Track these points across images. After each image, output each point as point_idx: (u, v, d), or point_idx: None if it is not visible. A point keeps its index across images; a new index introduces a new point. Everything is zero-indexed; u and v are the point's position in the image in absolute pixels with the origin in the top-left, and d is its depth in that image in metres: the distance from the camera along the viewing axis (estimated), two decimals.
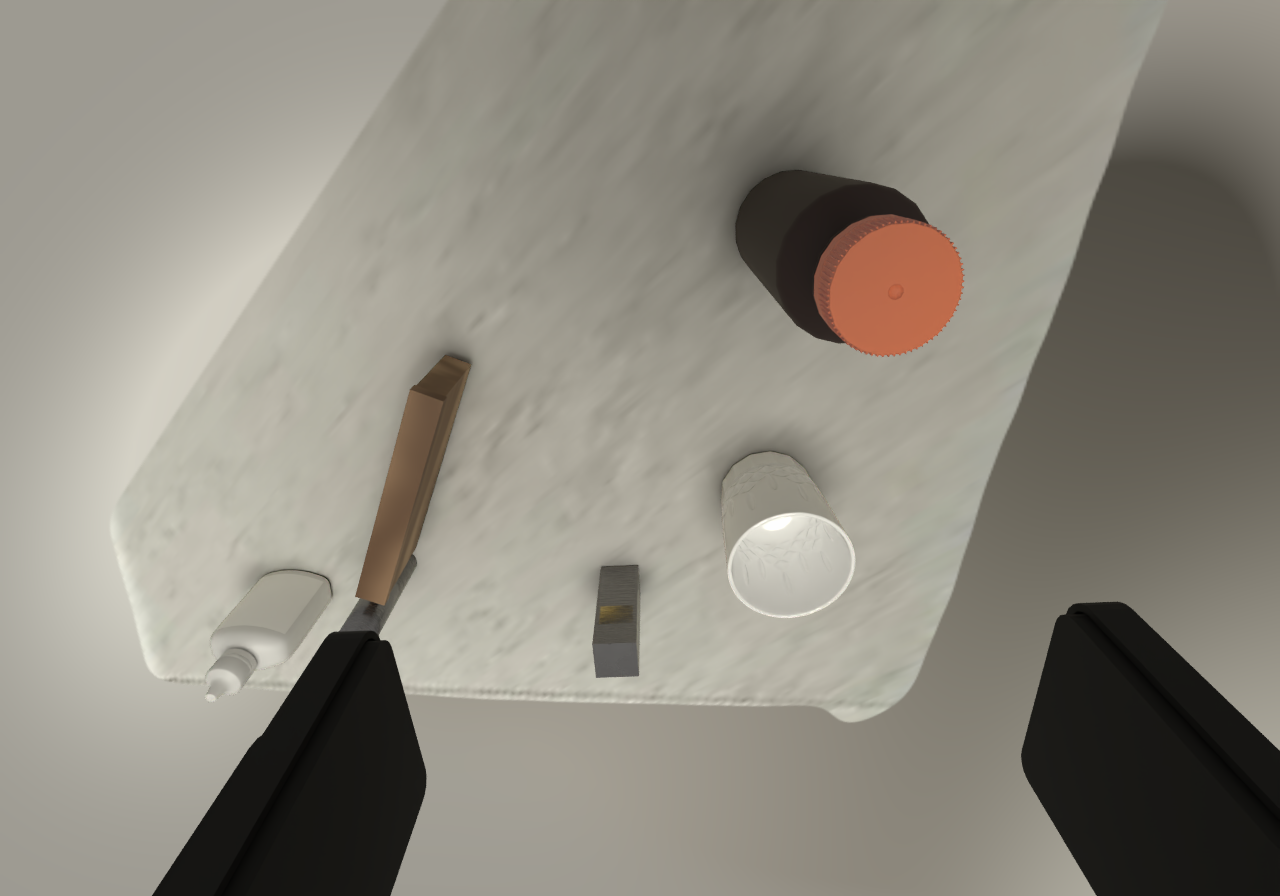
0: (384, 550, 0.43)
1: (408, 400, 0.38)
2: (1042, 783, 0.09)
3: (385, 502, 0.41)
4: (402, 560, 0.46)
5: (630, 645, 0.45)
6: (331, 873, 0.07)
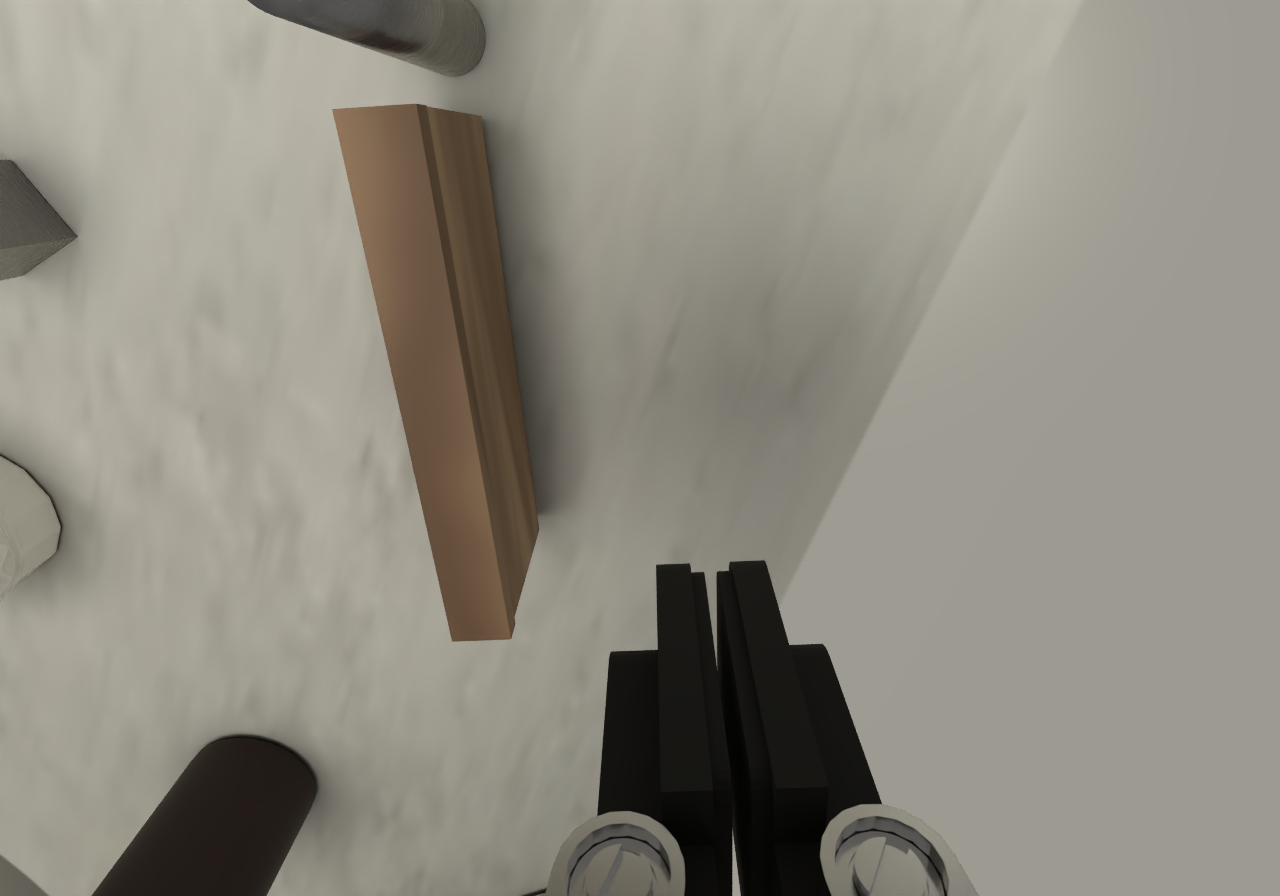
0: (410, 296, 0.17)
1: (505, 622, 0.22)
2: None
3: (461, 420, 0.19)
4: None
5: None
6: None
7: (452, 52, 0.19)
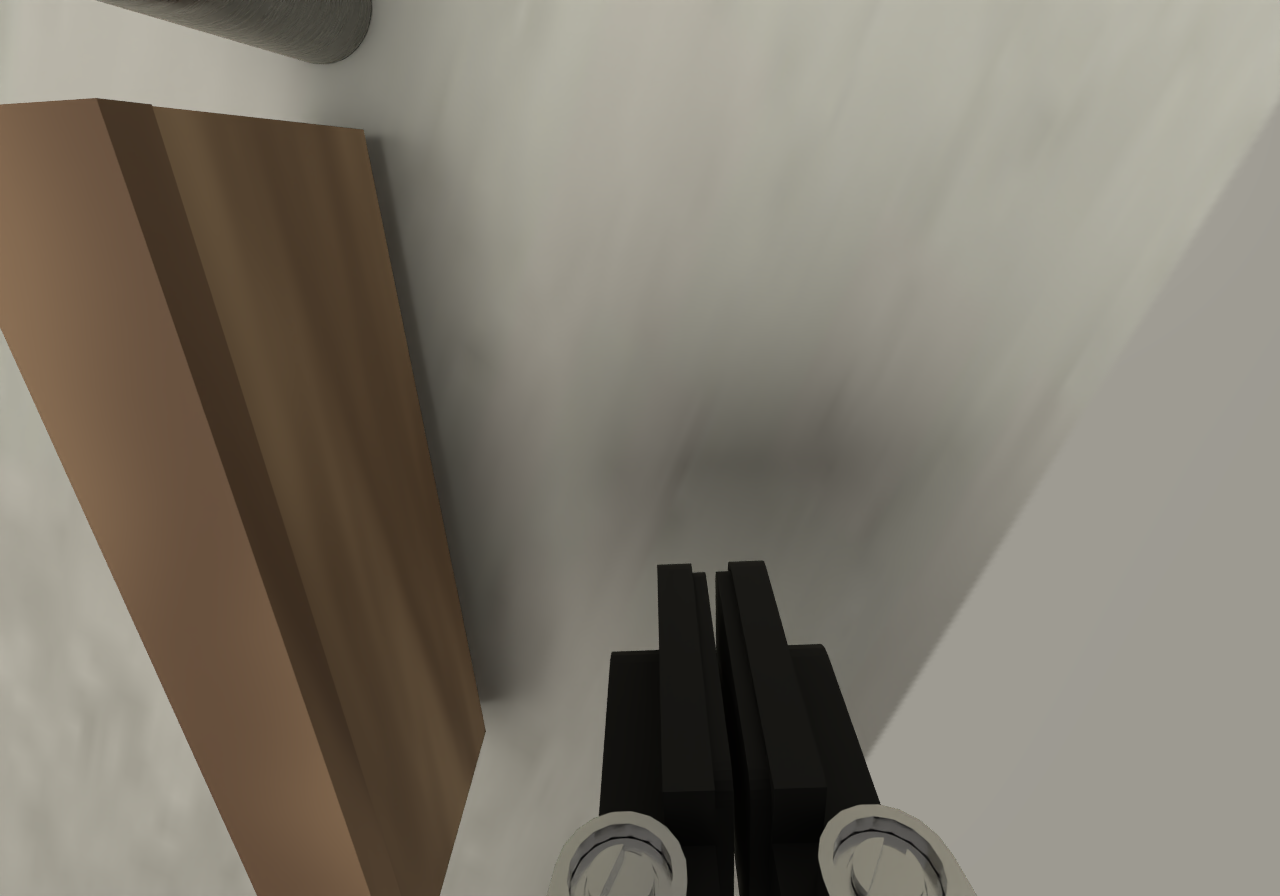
0: (152, 497, 0.08)
1: None
2: None
3: (285, 707, 0.10)
4: None
5: None
6: None
7: (283, 12, 0.10)
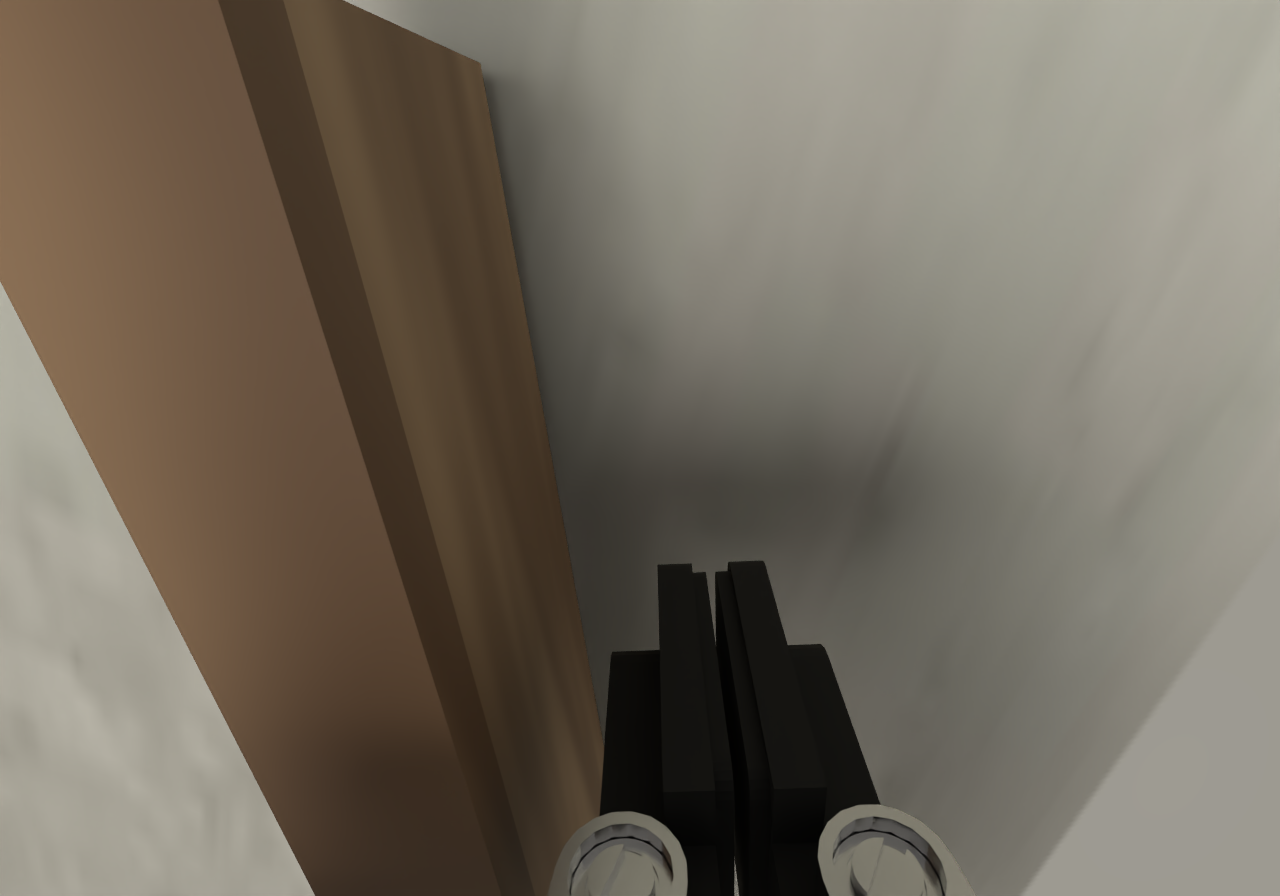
0: (283, 608, 0.05)
1: None
2: None
3: (465, 873, 0.07)
4: None
5: None
6: None
7: None
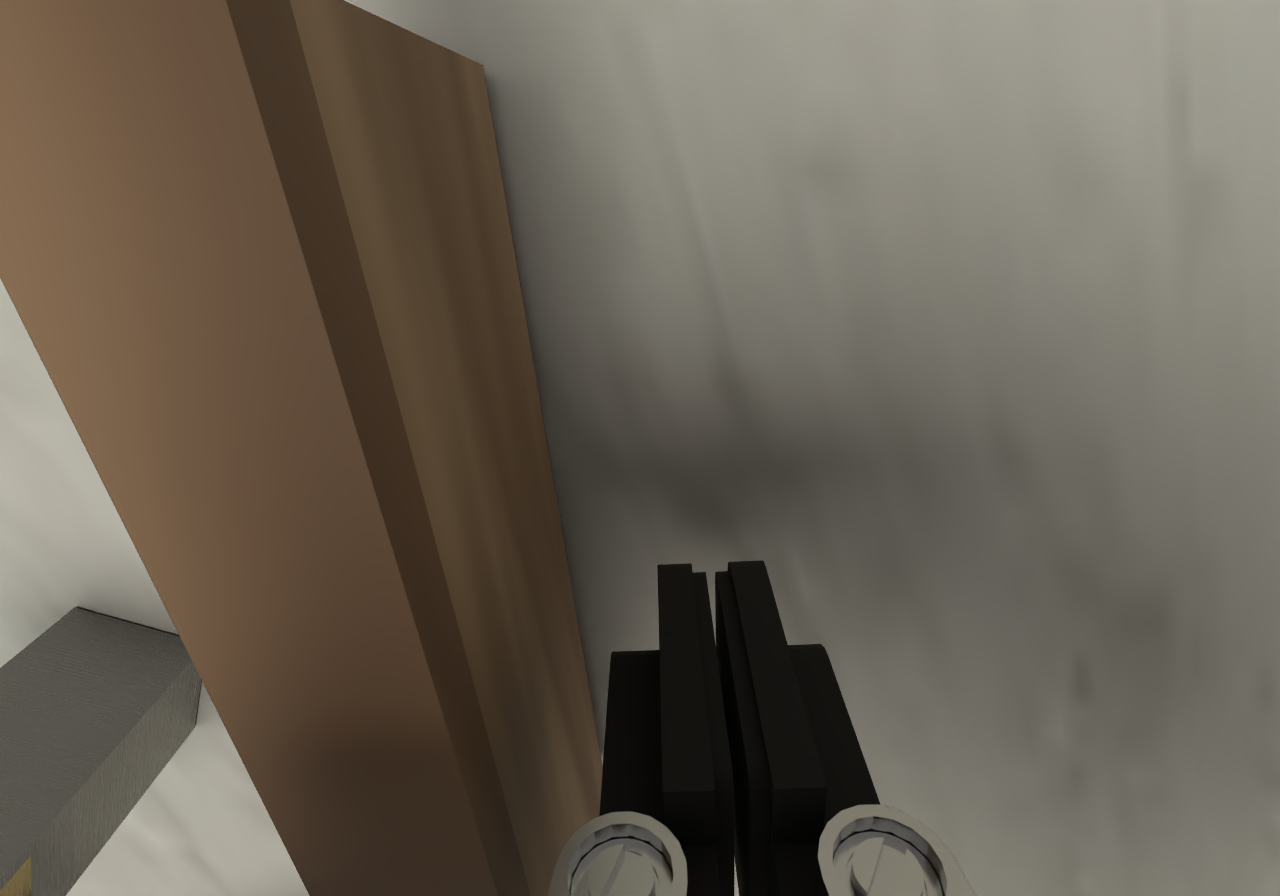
0: (284, 612, 0.05)
1: None
2: None
3: (462, 878, 0.07)
4: None
5: None
6: None
7: None
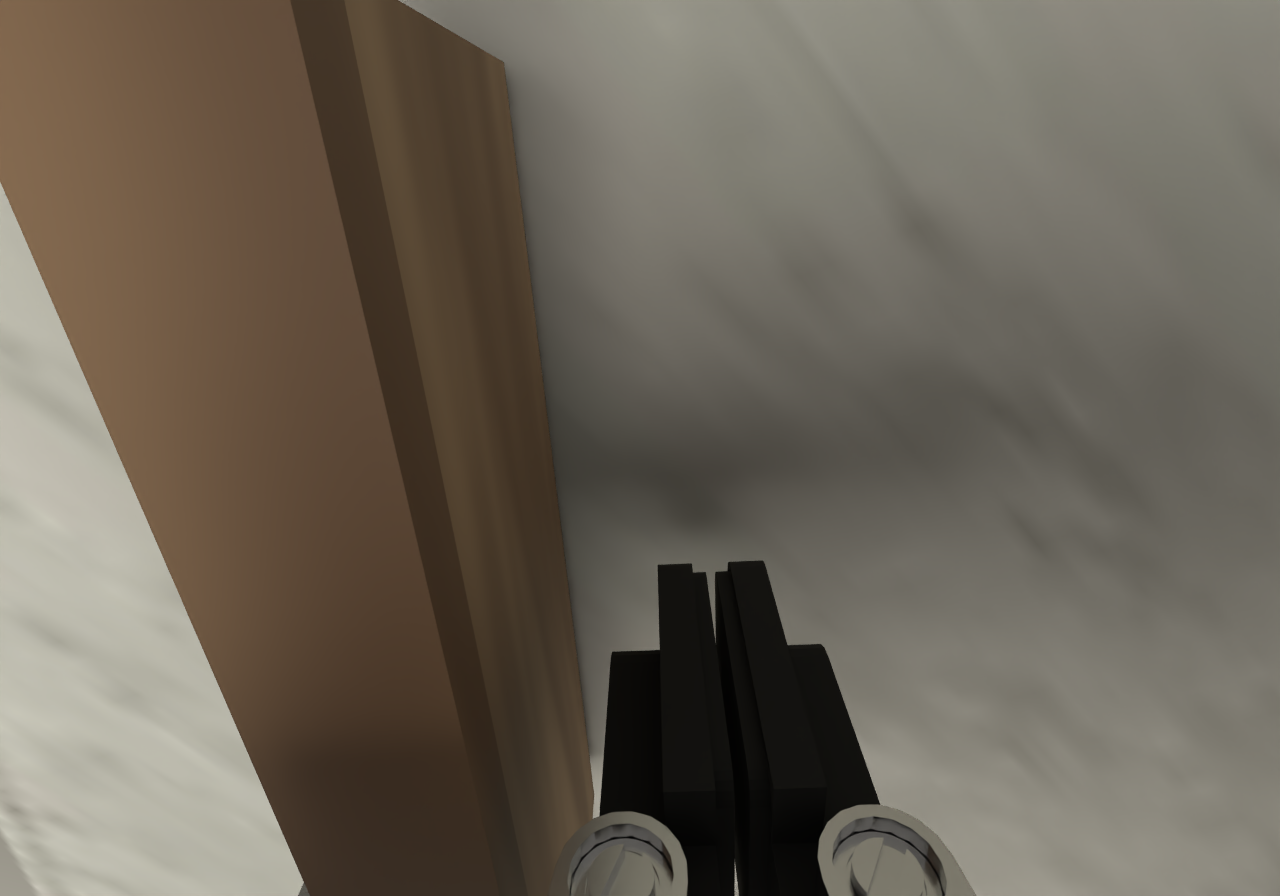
0: (304, 608, 0.05)
1: None
2: None
3: (466, 880, 0.07)
4: None
5: None
6: None
7: None
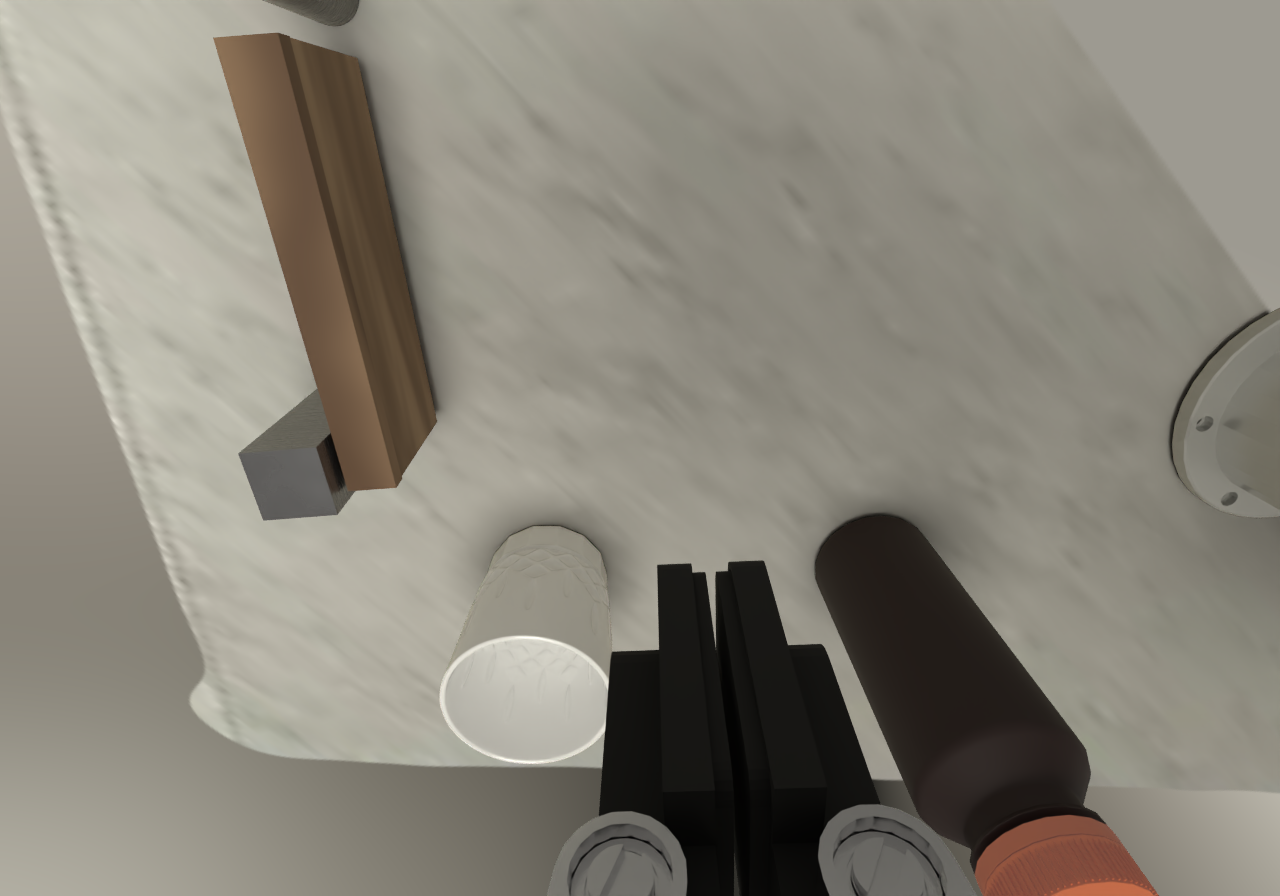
0: (287, 189, 0.22)
1: (390, 472, 0.27)
2: None
3: (337, 294, 0.24)
4: None
5: (328, 506, 0.26)
6: None
7: None
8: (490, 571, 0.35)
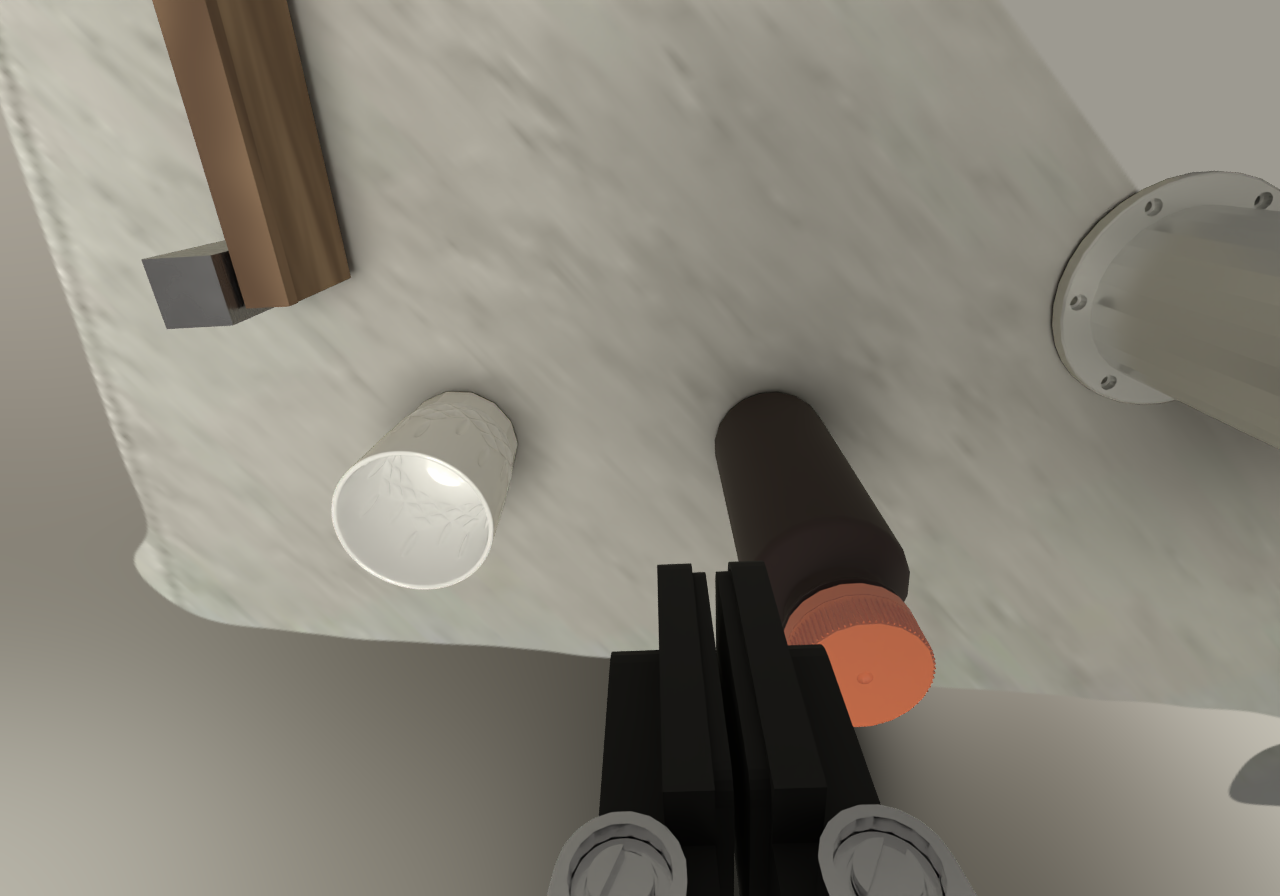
0: (178, 2, 0.25)
1: (283, 290, 0.29)
2: None
3: (227, 107, 0.26)
4: None
5: (224, 316, 0.29)
6: None
7: None
8: None
